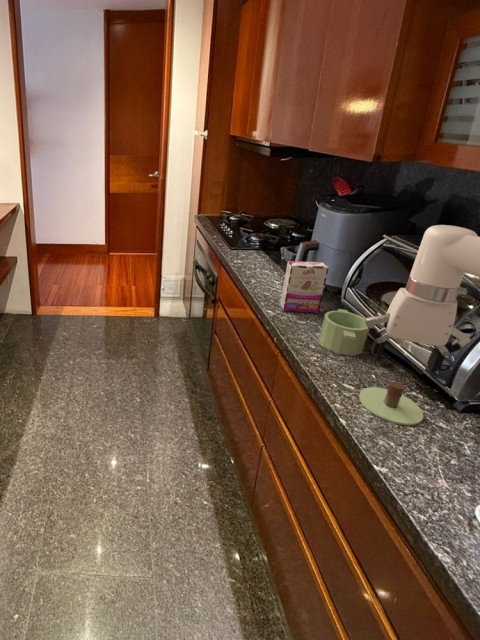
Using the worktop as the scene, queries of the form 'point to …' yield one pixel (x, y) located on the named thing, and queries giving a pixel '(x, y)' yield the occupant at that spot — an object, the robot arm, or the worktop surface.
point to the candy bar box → (303, 286)
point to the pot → (343, 332)
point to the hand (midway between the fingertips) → (403, 362)
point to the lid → (391, 404)
